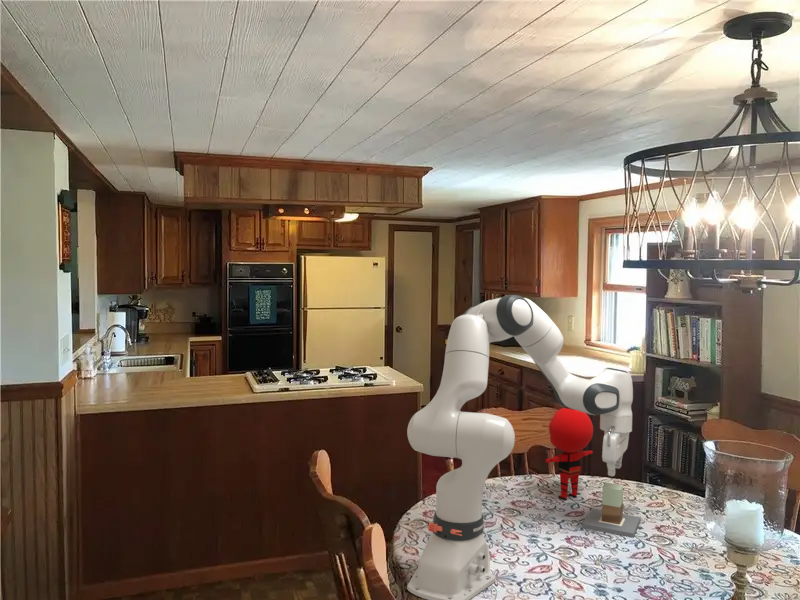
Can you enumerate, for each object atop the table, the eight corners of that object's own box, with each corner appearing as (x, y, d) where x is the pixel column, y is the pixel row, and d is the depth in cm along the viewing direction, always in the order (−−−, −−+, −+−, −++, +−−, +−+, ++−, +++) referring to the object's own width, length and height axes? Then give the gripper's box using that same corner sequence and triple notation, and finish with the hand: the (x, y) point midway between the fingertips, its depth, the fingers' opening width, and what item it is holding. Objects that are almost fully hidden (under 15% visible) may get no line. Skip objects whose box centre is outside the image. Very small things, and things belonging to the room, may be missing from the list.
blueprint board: (633, 537, 173) (633, 533, 173) (582, 527, 180) (582, 523, 180) (640, 521, 185) (640, 516, 185) (592, 512, 192) (592, 508, 192)
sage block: (620, 507, 179) (620, 490, 179) (602, 504, 181) (602, 487, 181) (622, 502, 183) (623, 485, 183) (605, 499, 186) (605, 482, 185)
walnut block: (619, 524, 179) (620, 507, 179) (601, 521, 181) (602, 504, 181) (622, 519, 183) (622, 502, 183) (604, 515, 186) (605, 499, 186)
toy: (575, 487, 216) (577, 400, 215) (608, 498, 204) (610, 407, 203) (531, 498, 204) (533, 406, 203) (562, 511, 192) (565, 414, 192)
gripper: (620, 431, 170) (619, 482, 170) (632, 419, 188) (631, 465, 188) (597, 428, 173) (595, 478, 174) (611, 417, 191) (610, 462, 191)
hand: (614, 471), depth 181 cm, fingers open, 8 cm apart
